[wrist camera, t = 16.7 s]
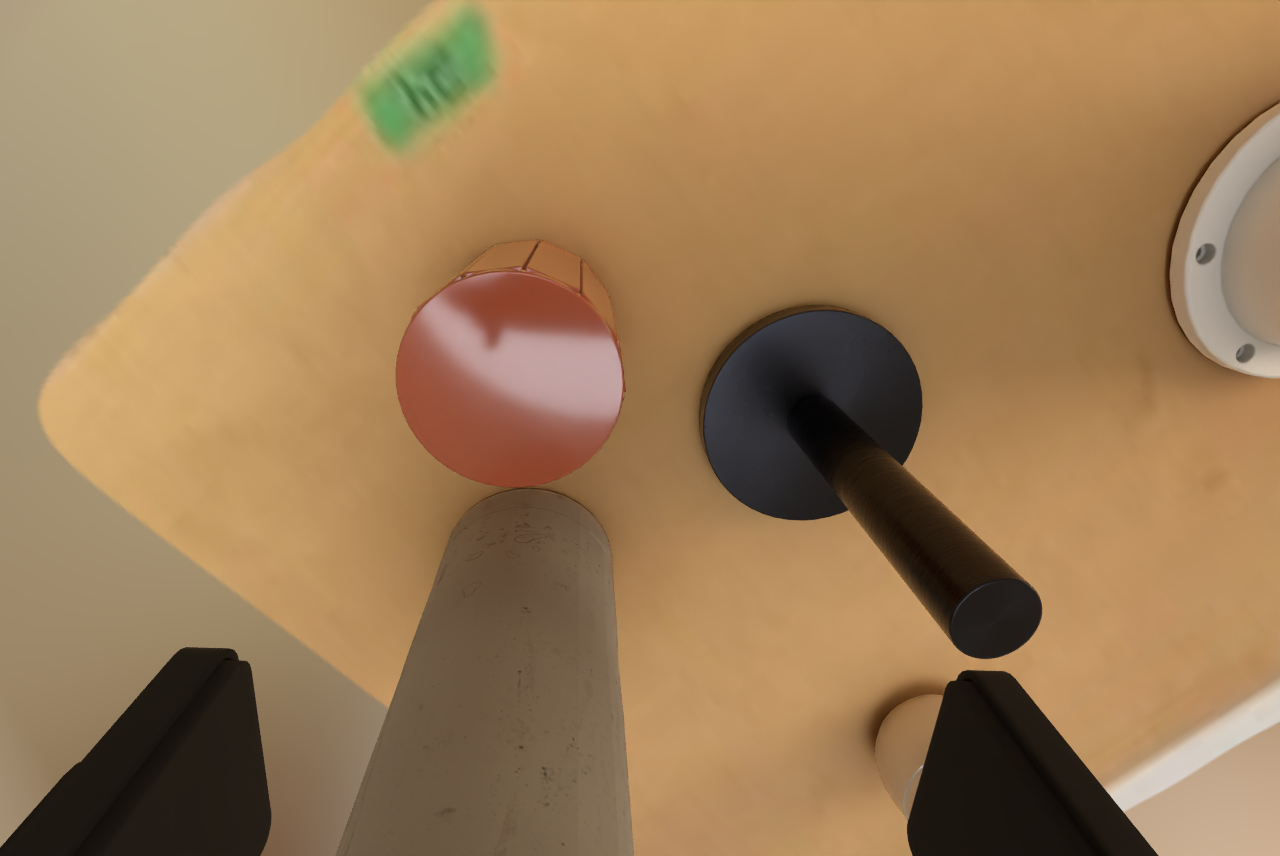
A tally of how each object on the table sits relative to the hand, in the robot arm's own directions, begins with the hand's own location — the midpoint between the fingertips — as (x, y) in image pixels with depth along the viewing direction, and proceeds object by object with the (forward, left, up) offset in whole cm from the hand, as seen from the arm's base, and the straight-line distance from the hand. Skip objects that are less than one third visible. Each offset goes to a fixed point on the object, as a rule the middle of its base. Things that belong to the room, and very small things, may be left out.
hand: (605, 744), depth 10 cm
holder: (-1, +10, -23) cm, 25 cm away
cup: (0, -3, -23) cm, 23 cm away
